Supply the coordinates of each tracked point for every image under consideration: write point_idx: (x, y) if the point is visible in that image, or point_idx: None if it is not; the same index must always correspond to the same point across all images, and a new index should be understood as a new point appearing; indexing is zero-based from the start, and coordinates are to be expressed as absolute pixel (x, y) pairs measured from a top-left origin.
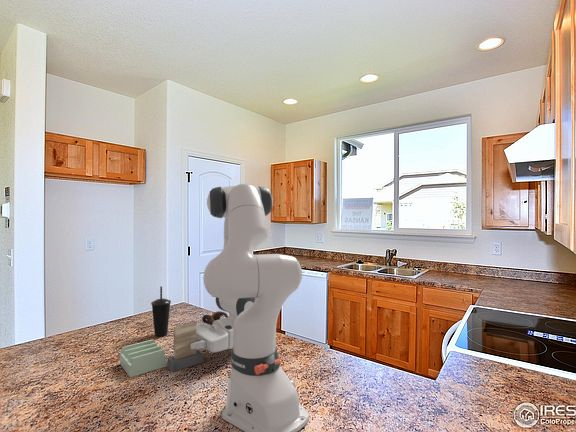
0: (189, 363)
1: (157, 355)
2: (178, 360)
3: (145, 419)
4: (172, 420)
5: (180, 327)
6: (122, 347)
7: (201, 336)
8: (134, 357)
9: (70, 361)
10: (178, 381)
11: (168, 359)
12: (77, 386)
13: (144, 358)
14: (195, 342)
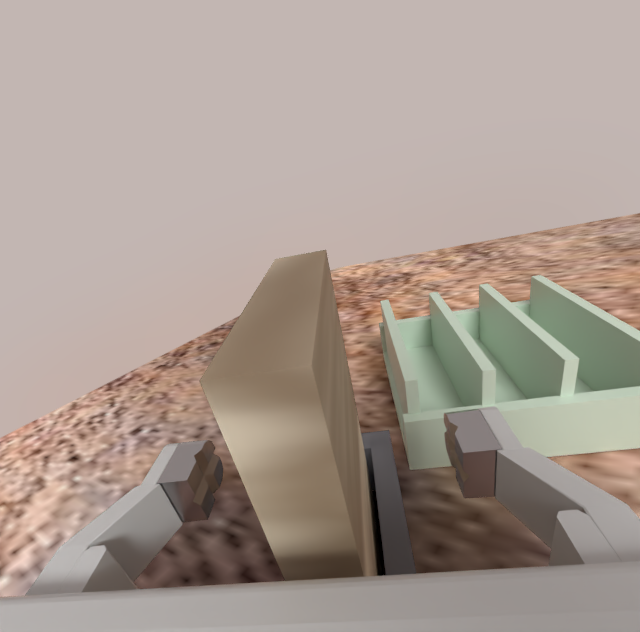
0: None
1: (399, 374)
2: None
3: (145, 376)
4: (70, 414)
5: (268, 272)
6: (534, 276)
7: (153, 588)
8: (386, 304)
9: (603, 265)
10: None
11: (373, 435)
12: (411, 293)
13: (388, 336)
14: (155, 481)
